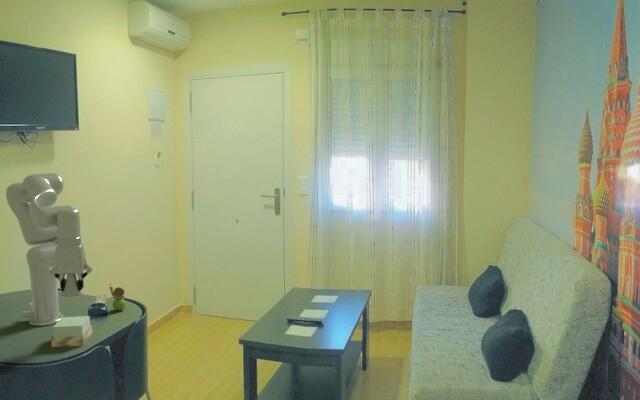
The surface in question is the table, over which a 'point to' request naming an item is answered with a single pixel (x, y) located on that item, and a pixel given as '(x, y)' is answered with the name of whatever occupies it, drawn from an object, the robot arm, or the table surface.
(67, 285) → the flask
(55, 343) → the tower base block
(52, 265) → the robot arm
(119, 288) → the snail figurine
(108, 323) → the table surface
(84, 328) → the tower top block
